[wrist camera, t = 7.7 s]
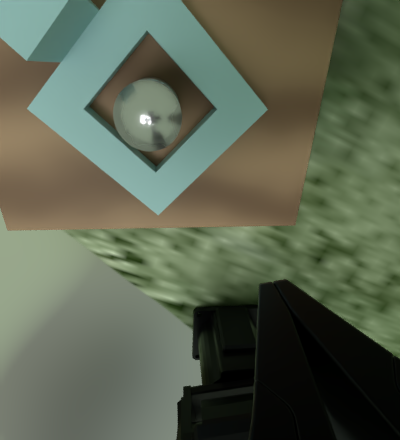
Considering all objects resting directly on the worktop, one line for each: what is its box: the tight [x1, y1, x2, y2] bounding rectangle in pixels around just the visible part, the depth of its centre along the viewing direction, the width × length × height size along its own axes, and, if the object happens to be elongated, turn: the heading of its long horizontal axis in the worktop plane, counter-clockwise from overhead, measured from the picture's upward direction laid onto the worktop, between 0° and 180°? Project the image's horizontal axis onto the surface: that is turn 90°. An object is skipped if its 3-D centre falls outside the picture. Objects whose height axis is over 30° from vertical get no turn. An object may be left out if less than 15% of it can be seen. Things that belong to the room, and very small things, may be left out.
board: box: [0, 0, 343, 230], centre depth 17 cm, size 18×20×1 cm
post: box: [113, 77, 182, 151], centre depth 15 cm, size 3×3×4 cm
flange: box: [0, 0, 268, 215], centre depth 13 cm, size 14×9×5 cm, turn 44°
